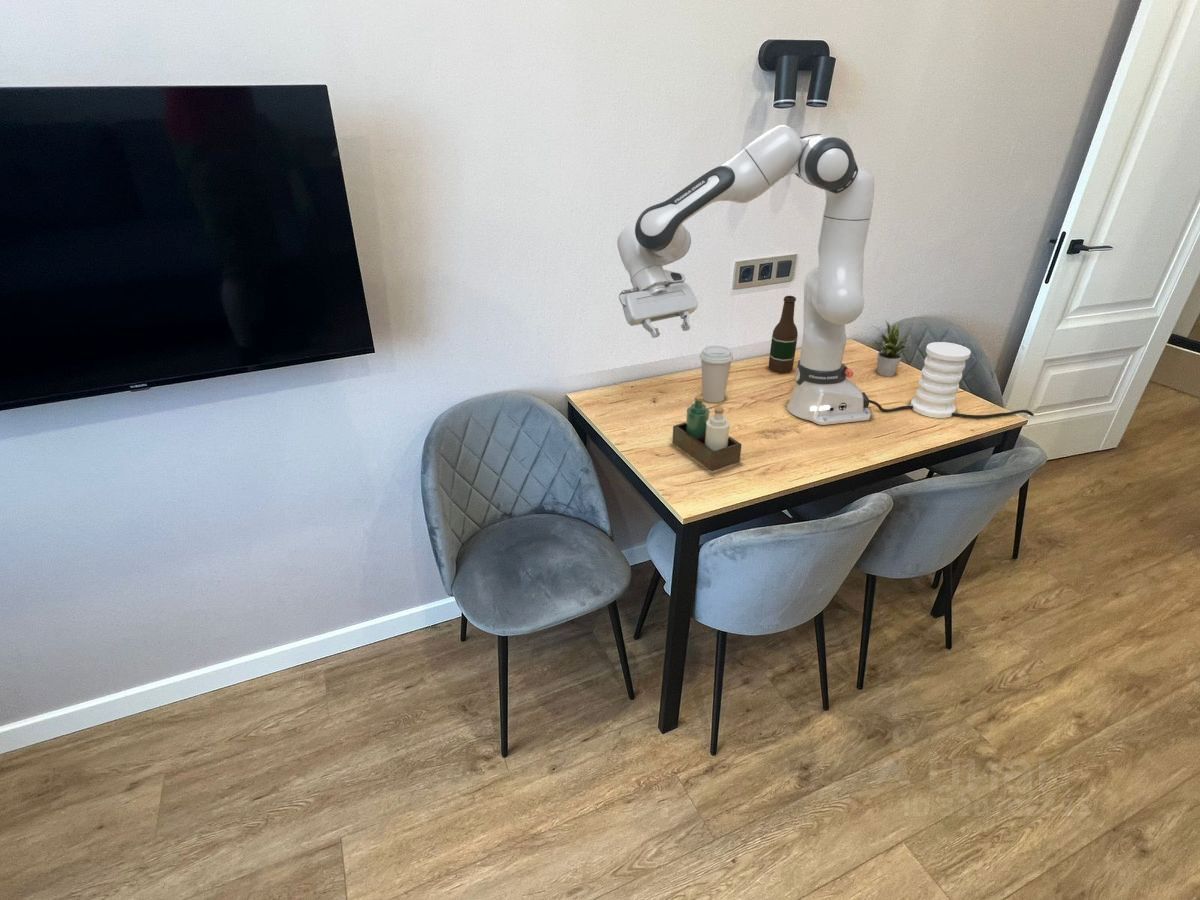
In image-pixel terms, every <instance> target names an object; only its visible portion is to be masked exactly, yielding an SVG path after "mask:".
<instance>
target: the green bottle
mask: <svg viewBox="0 0 1200 900" xmlns="http://www.w3.org/2000/svg"><path fill="white" fill-rule="evenodd" d="M703 401H704V399H703V396H702V395H701V394H697V395H695V396H694V403H691V405H690V406H689V407H688V408H687V409H686V416H685V418H686V419H685V422H686V432H687V433H688V434H690V435H691V436H693V437H694V438H695V437H698V436H701V435H704V434H705V432H706V422H707V420H709V419H710V409H709V408H707V405H705V404H704V403H703Z"/></svg>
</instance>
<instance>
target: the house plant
mask: <svg viewBox="0 0 1200 900" xmlns="http://www.w3.org/2000/svg"><path fill="white" fill-rule="evenodd" d="M885 323H886V326H887V327H886V328H887V336H888V337H886V335H884V334H883V333H882V331H880V329H878V327H877V326H874V325H872V327H873V328H875V330H876V331H879V334H880V337H881V338H882V341H883V342H884V344H882V343H880V342H877V341H876V340H874V339H872V338H870V340H871V341H873V343H871V346H876V345H877V346H878V347H879V348H880V351H879V352H878V353H877V368H876V369H877V370H876V372H877V374H878V375H880V376H884V377H893V376H895V374H896V372H897V369H898V367H899V365H900V363H901V361H902V358H903V355H902V354H901V353H903V352H905V351H906V352H907V351H909V352H911V349H907V347H906V346H904V345H903V344H905V343H906V342H908V340H906V339H907V337H908V336H909V335H910V334H911V333H912V330H911V331H910V332H908V334H906V335H905V336H904V337H903V338H902V339H901V340H900V341H899V335H900V327H899V326H898V325H897V324H896V323H894V324H893V325H892V327H891V325H890V323H889V322H888V321H887V320H885ZM891 328H892V329H891ZM915 336H916V337H917V336H918V334H914V335H910V336H909V337H908V339H910V338H911V337H915ZM898 341H899V343H898ZM903 349H904V350H903Z"/></svg>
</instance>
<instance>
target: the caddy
mask: <svg viewBox="0 0 1200 900" xmlns="http://www.w3.org/2000/svg"><path fill="white" fill-rule="evenodd" d="M672 444H673V445H674V446H675V447H677V448H679V450H682V452H684V453H686V454H687V455H689V456H690V457H691V458H693V459H694V460H696V461H697V462H698V463H700V464H701V465H702V466H704V467H705V468H707V469H708V470H709V471H711V472H715V471H718V470H721V469H724V468H726V467H730V466H732V465H735V464H738V463H740V462H741V453H742V445H743V444H742V443H740V441H738V440H736V439H735V438H733V437H731V436H730V435H729V438H728V447H725V448H722V449H719V450H716V451H713V450H712V449H710V448H709V447H707V446H706V445H705V434H704V435H701V436H698V437H695V438H694V437H693V436H691V435H690V434H688V433H687V432H686V421H685V422H681V423H677V424H675V425H673V427H672Z"/></svg>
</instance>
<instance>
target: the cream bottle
mask: <svg viewBox="0 0 1200 900" xmlns="http://www.w3.org/2000/svg"><path fill="white" fill-rule="evenodd" d="M724 410H725V408H723V407H722V406H715V407H714V415H712V416H711V417H709V420H707V422H706V432H705V445H706V446H707V447H709V448H710V449H712V450H713V451H716V450H719V449H722V448H725V447H728V438H729V436H730V427H731V423H730V421H729V420H728V419H727V417H726V416H724Z"/></svg>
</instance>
